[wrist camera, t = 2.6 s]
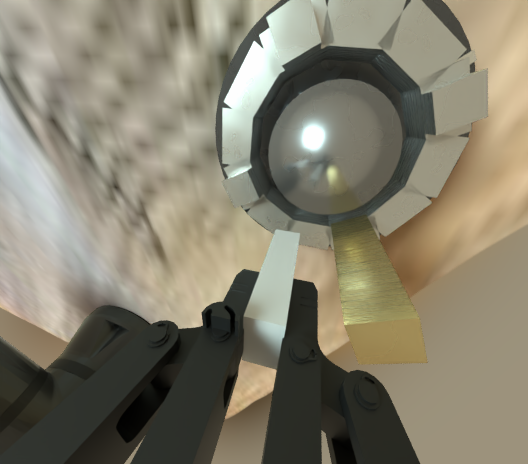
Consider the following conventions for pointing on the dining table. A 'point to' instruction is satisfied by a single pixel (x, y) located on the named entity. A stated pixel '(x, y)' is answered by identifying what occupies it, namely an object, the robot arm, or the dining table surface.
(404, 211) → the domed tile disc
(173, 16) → the dining table surface
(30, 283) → the dining table surface
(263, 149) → the housing
